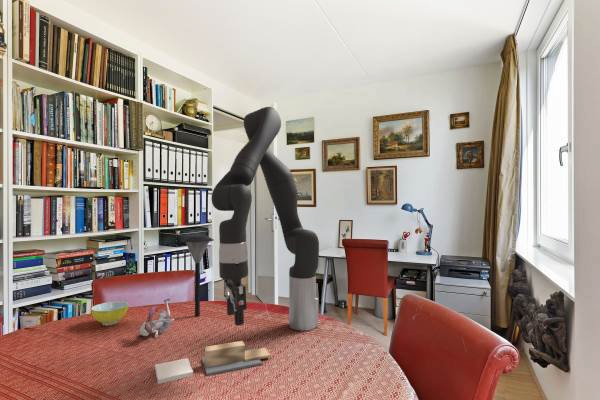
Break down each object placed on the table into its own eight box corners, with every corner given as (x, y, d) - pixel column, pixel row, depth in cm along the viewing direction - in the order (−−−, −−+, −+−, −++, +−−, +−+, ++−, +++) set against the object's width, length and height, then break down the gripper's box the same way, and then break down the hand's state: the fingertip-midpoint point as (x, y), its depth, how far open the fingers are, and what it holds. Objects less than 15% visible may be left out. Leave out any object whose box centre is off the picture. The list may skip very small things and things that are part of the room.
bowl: (127, 316, 125) (127, 299, 125) (129, 325, 115) (129, 307, 115) (91, 321, 119) (91, 304, 119) (90, 332, 109) (90, 313, 110)
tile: (187, 358, 89) (155, 364, 85) (193, 371, 82) (157, 379, 78) (187, 364, 89) (155, 371, 85) (193, 378, 82) (157, 386, 78)
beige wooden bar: (265, 349, 95) (265, 335, 95) (270, 357, 91) (270, 342, 91) (204, 360, 89) (204, 345, 89) (206, 369, 84) (206, 353, 84)
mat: (252, 350, 96) (252, 348, 96) (261, 364, 88) (261, 362, 88) (202, 359, 90) (202, 357, 90) (206, 375, 82) (206, 373, 82)
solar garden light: (189, 310, 132) (189, 234, 132) (219, 311, 130) (219, 234, 131) (173, 320, 120) (174, 237, 120) (206, 322, 118) (206, 237, 119)
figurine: (177, 336, 113) (151, 348, 99) (154, 329, 115) (125, 340, 100) (186, 302, 115) (162, 309, 100) (163, 296, 117) (136, 301, 102)
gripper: (214, 256, 94) (215, 314, 94) (225, 265, 81) (227, 331, 81) (240, 254, 97) (241, 309, 98) (255, 261, 85) (256, 325, 85)
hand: (235, 319), depth 90 cm, fingers open, 8 cm apart
